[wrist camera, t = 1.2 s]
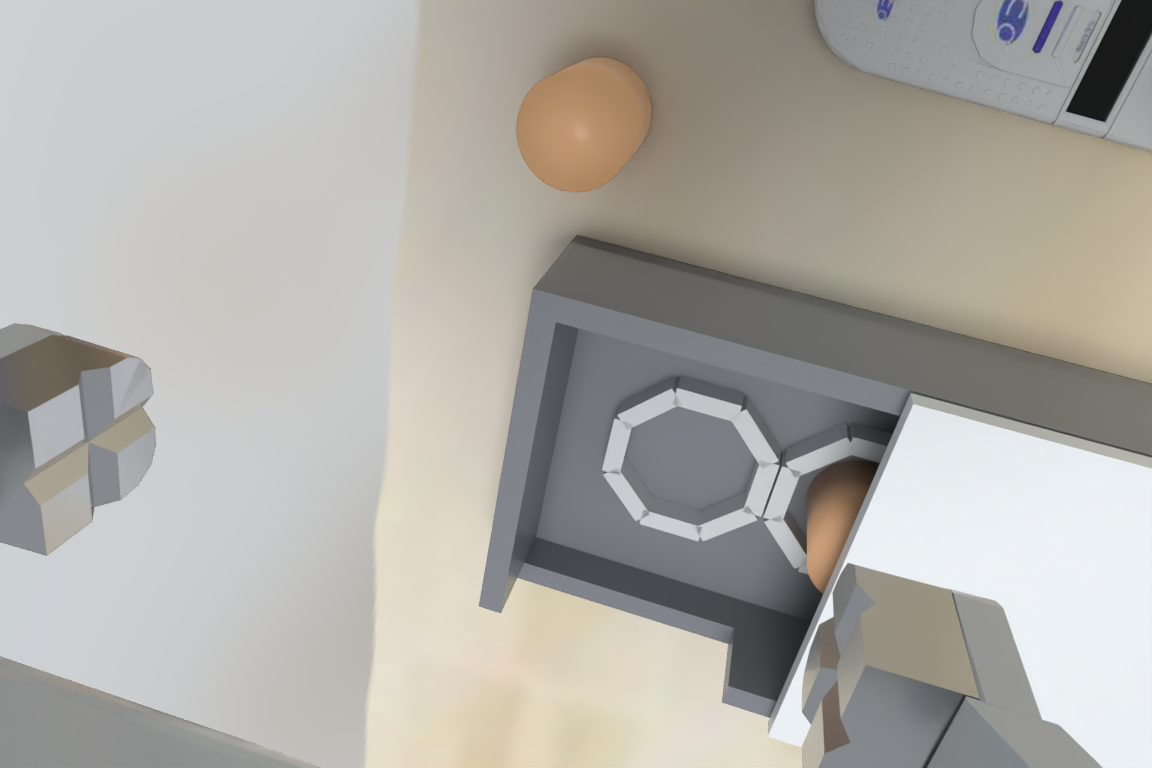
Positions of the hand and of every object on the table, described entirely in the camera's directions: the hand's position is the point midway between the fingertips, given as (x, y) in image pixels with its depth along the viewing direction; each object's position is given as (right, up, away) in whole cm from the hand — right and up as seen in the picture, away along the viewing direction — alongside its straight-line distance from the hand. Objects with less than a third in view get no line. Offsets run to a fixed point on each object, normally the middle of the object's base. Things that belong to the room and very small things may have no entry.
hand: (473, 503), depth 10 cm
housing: (+12, -3, +28) cm, 30 cm away
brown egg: (+2, +12, +23) cm, 26 cm away
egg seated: (+13, -4, +27) cm, 30 cm away
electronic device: (+17, +13, +19) cm, 28 cm away
